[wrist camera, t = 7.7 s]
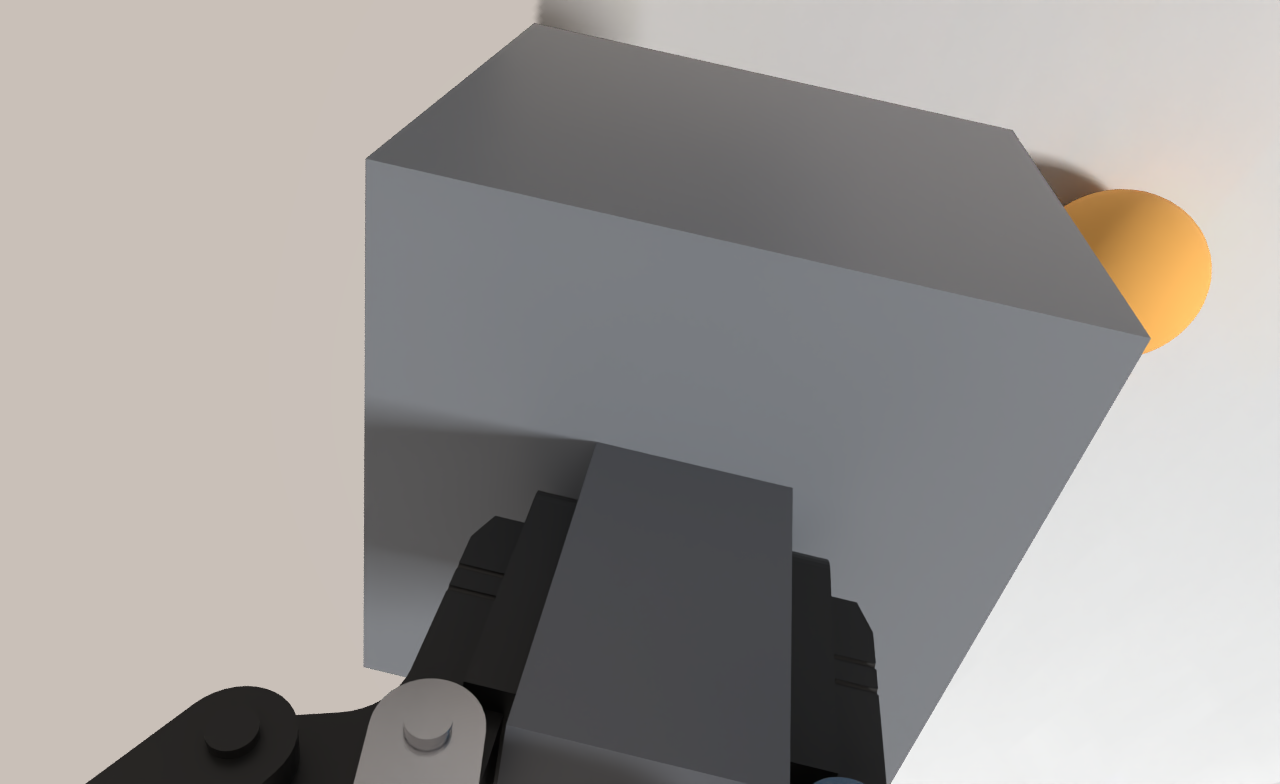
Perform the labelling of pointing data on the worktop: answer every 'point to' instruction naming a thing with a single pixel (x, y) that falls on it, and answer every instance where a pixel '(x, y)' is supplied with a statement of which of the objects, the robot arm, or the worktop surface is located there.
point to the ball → (1148, 256)
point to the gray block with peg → (715, 388)
